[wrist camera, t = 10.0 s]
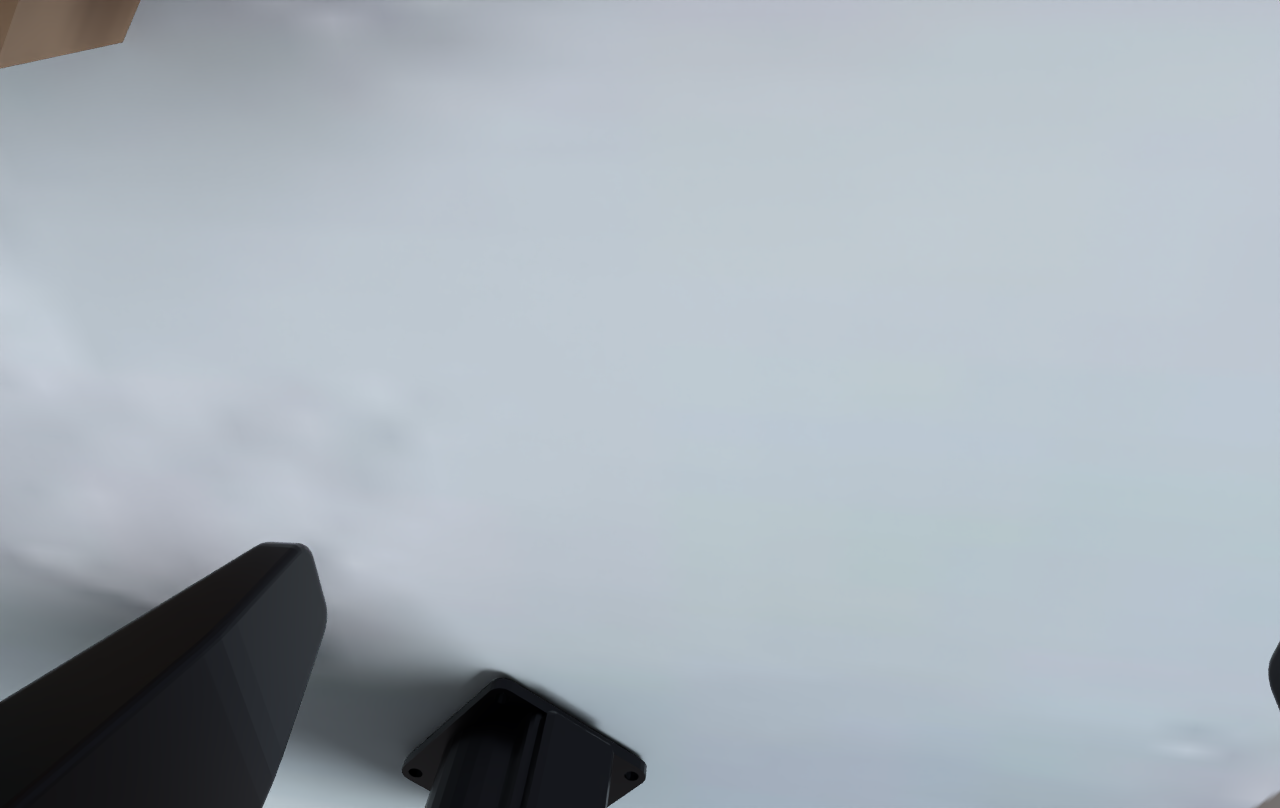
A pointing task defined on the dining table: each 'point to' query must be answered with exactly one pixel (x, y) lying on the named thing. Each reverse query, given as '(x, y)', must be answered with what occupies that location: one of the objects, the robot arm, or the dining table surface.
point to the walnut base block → (60, 27)
